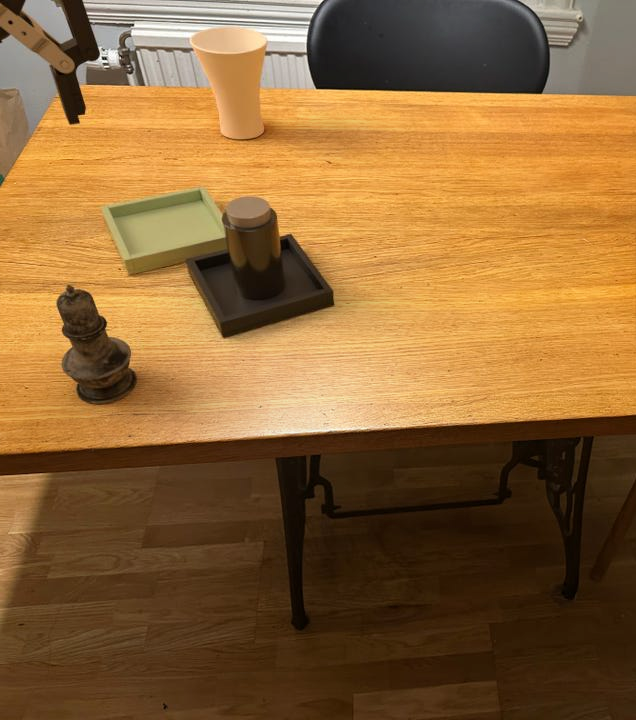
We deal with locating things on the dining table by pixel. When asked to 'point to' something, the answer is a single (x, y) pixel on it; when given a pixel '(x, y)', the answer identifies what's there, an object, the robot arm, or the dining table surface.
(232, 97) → the cup
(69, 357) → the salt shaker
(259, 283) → the brown jar with lid
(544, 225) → the dining table surface
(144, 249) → the light tray
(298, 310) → the dark tray
